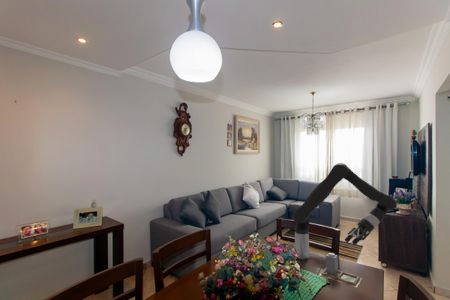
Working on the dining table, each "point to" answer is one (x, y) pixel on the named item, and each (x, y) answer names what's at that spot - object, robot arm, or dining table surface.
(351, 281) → the dock
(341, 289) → the dining table surface
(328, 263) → the plug
